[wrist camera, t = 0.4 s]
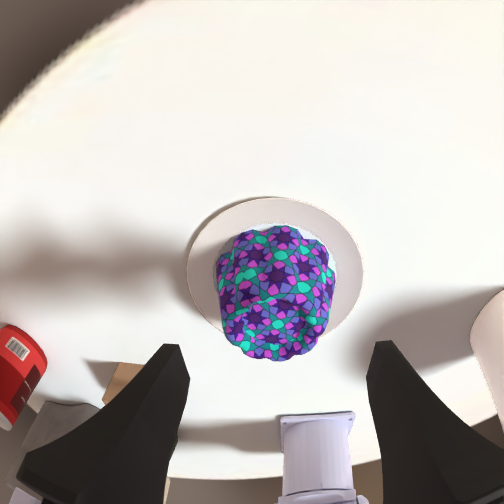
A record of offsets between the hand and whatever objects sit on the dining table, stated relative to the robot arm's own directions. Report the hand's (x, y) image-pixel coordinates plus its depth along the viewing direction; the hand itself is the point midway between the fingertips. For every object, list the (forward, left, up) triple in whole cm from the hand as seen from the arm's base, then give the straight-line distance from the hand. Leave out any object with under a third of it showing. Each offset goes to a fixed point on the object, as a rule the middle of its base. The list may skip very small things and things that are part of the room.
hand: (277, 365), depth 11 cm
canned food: (-13, +31, -10) cm, 35 cm away
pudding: (-3, 0, -10) cm, 11 cm away
